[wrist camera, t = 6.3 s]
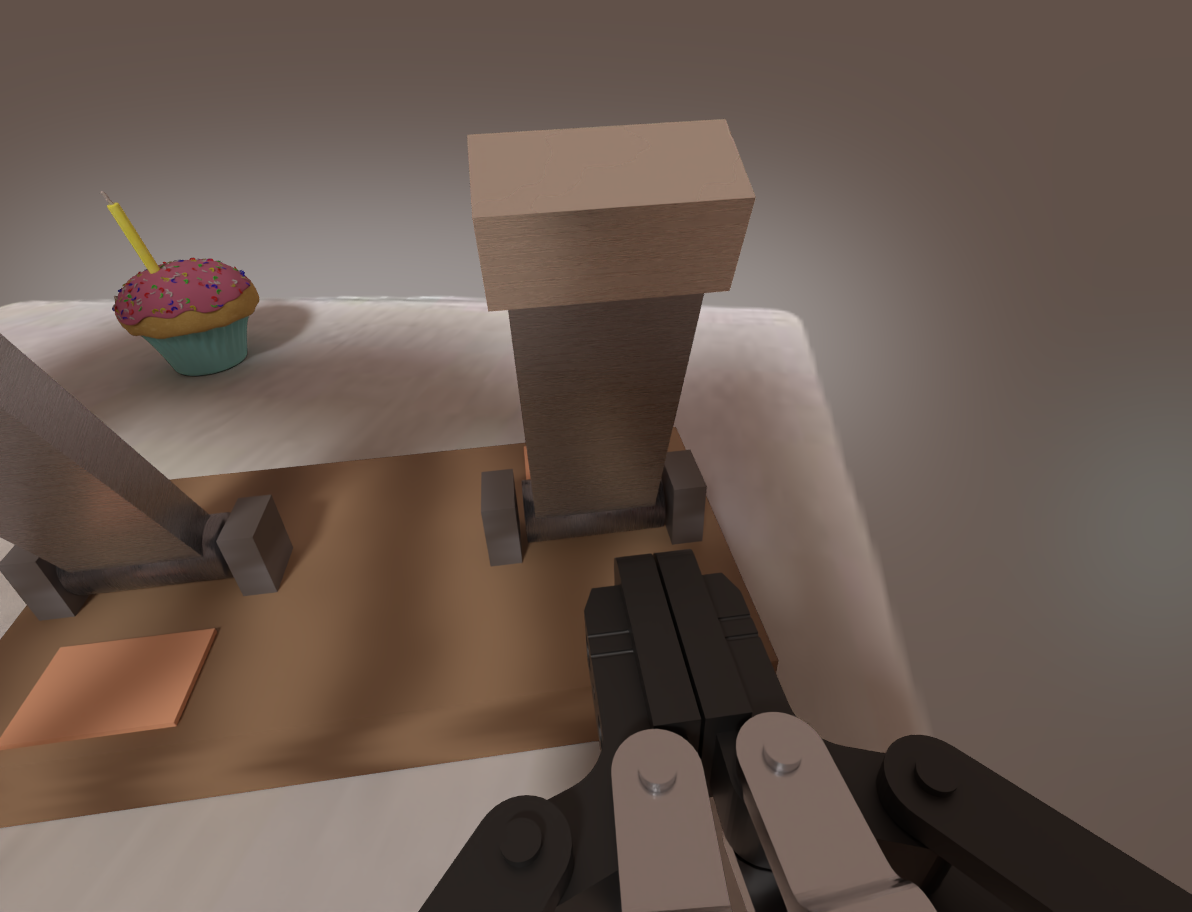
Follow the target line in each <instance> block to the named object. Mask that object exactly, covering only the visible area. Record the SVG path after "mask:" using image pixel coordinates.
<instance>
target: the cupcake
mask: <svg viewBox="0 0 1192 912" xmlns="http://www.w3.org/2000/svg"><path fill="white" fill-rule="evenodd" d="M100 193H101V194H102V195H103V196H104V197H105V199H106V201H107V202H109V204H110V205H108V206H107V207H108V209H109V210H110V212H111V213H112V215H113V216H114V218H115V220H116V221H117V223H118V224H119V226H120V227H121V229H122V231H123V232H124V234H125V235H126V237H127V238H128V240H129V241H130V243H131V244H132V246H133V248H134V249H135V251H136V252H137V254H138V255H139V257H140V258H141V260H142V261H143V263H144V265H145V266H146V268H147V270H145V271H143V272H141V273H140V272H139V273H138V274H137V275H135V276H133V277H132V278H131V279H130V280H128V282H127V283H126V284H124V285H123V286H124V287H123V288H121V289H120V290H118V292H119V294H118V296H114V299H115V304H114V305H113V308H112V310H113V311H115V315H116V317H117V319H118V321H119V322H120V324H121V325H122V327H123V328H125V329H126V330H127V331H128V332H129V333H130V334H131V335H133V336H142V337H143V338H144V339H146V340H147V341H148V342H149V343H150V344H151V345H152V346H153V347H154V348H155V349H156V350H157V351H158V352H159V353H160V354H161V355H162V356H163V357H164V358H165V359H166V360H167V361H168V363H169V364H170V365H171V366H172V367H173V368H174V369H175V371H177V372H178V373H180V374H183V375H188V376H200V375H208V374H213V373H217V372H221V371H224V370H226V369H229V368H231V367H233V366H235V365H237V364H239V363H240V362H241V361H243V360H244V359H245V357H246V355H247V321H248V317H249V315H251V314H252V313H253V312H254V311H255V307H256V305H257V304H258V303H259V295H258V293H257V291H256V288H255V287H254V285H253V283H252V282H251V280H249V279H248V278H247V277H246V276H245V275H244V273H245V272H244V271H242V270H240V271H238V270H237V269H236V267H234V268H235V269H234V268H232V267H231V266H228V265H226V264H223V263H222V262H220V261H213V259H207V260H206V259H196V260H195V258H190V260H175V261H173V262H168V263H166V262H163V263H164V264H162V265H157V263H156V262H155V260H154V259H153V257H152V255H151V254H150V253H149V251H148V249H147V248H146V246H145V244H144V243H143V241H142V240H141V238H140V236H139V235H138V233H137V232H136V230H135V229H134V227H133V225H132V224H131V222H130V221H129V219H128V217H127V216H126V214H125V213H124V211H123V209H122V208H121V207H120V205H119V204H118V203H113V202H112V201H111V200H110V199H109V197H108V196H107V195H106V193H104V192H103V191H101V192H100ZM193 259H194V260H193ZM241 271H242V272H241Z"/></svg>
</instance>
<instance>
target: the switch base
mask: <svg viewBox="0 0 1192 912" xmlns="http://www.w3.org/2000/svg"><path fill="white" fill-rule="evenodd" d="M528 479H531V478H530V470H529V463H528V455H527V448H526V443H518V444H509V445H499V446H490V447H480V448H470V449H461V450H451V451H441V452H432V453H422V454H413V455H403V456H393V457H384V458H374V459H364V460H355V461H345V462H336V463H326V464H316V465H307V466H297V467H287V468H278V469H268V470H259V471H249V472H239V473H230V474H220V475H210V476H201V477H191V478H181V479H172V480H170V481H171V482H172V483H173V484H175V485H176V486H177V487H178V488H179V489H180V490H181V491H183V492H184V493H185V494H186V495H187V496H188V497H190V498H191V499H192V500H193V501H194V502H195V503H196V504H198V505H199V506H200V507H201V508H202V509H203V510H205V511H206V512H207V513H208V514H216V513H225V512H230V515H229V517H228V519H227V521H226V523H225V525H224V527H223V529H222V531H221V533H220V535H219V537H218V539H217V541H216V542H217V544H218V546H219V548H220V550H221V552H222V554H223V556H224V558H225V560H226V562H227V564H228V566H229V568H230V570H231V572H232V574H233V576H234V577H233V578H226V579H217V580H209V581H200V582H192V583H183V584H175V585H166V586H158V587H149V588H141V589H132V590H124V591H115V592H107V593H98V594H90V595H81V596H78V595H73V594H71V593H69V592H68V591H67V590H66V589H65V588H64V587H63V586H62V584H61V582H60V580H59V578H58V575H57V571H56V566H55V565H53V564H51V563H50V562H48V561H46V560H44V559H42V558H40V557H38V556H36V555H34V554H32V553H30V552H28V551H26V550H24V549H22V548H20V547H18V546H16V545H15V546H14V547H13V548H12V549H11V550H10V551H9V553H8V554H7V555H6V556H5V557H4V558H3V559H2V561H1V562H0V571H1V572H2V574H3V575H4V576H5V578H6V579H7V580H8V581H9V583H10V584H11V585H12V587H13V588H14V589H15V590H16V592H17V593H18V594H19V595H20V597H21V598H22V599H23V601H24V602H25V603H26V604H27V606H26V607H25V608H24V610H23V611H22V612H21V613H20V615H19V616H18V617H17V619H16V620H15V621H14V623H13V624H12V625H11V626H10V628H9V629H8V630H7V632H6V633H5V634H4V636H3V637H2V638H1V639H0V828H3V827H10V826H16V825H23V824H30V823H37V822H44V821H51V820H58V819H64V818H71V817H78V816H85V815H92V814H99V813H106V812H112V811H119V810H126V809H133V808H140V807H147V806H154V805H160V804H167V803H174V802H181V801H188V800H195V799H202V798H208V797H215V796H222V795H229V794H236V793H243V792H250V791H256V790H263V789H270V788H277V787H284V786H291V785H298V784H304V783H311V782H318V781H325V780H332V779H339V778H345V777H352V776H359V775H366V774H373V773H380V772H387V771H393V770H400V769H407V768H414V767H421V766H428V765H435V764H441V763H448V762H455V761H462V760H469V759H476V758H483V757H489V756H496V755H503V754H510V753H517V752H524V751H531V750H537V749H544V748H551V747H558V746H565V745H572V744H579V743H585V742H592V741H599V737H598V730H597V723H596V716H595V709H594V703H593V696H592V688H591V682H590V675H589V669H588V662H587V648H586V633H585V618H584V609H585V606H586V603H587V600H588V598H589V595H590V592H591V589H592V588H598V587H606V586H614V558H616V557H624V556H633V555H641V554H649V553H651V554H652V555H653V554H654V553H659V552H667V551H676V550H684V549H691V550H692V551H693V553H694V555H695V557H696V560H697V563H698V566H699V568H700V571H701V574H702V575H705V574H713V573H721V572H722V573H723V574H724V575H725V576H726V577H727V578H728V579H729V580H730V581H731V582H732V583H733V584H734V585H735V586H736V587H737V588H738V589H739V590H740V591H741V593H742V595H743V598H744V600H745V602H746V605H747V607H748V609H749V612H750V616H751V618H752V619H753V621H754V624H755V626H756V628H757V631H758V635H759V637H760V638H761V640H762V642H763V645H764V647H765V649H766V652H767V654H768V657H769V659H770V661H771V664H772V666H773V668H774V671H775V673H776V670H777V665H778V658H777V656H776V654H775V652H774V649H773V647H772V645H771V642H770V640H769V638H768V636H767V633H766V631H765V629H764V627H763V624H762V622H761V620H760V617H759V615H758V613H757V611H756V608H755V606H754V604H753V602H752V599H751V597H750V595H749V592H748V590H747V588H746V586H745V583H744V581H743V579H742V576H741V574H740V572H739V570H738V567H737V565H736V563H735V561H734V558H733V556H732V554H731V551H730V549H729V547H728V545H727V542H726V540H725V538H724V536H723V533H722V531H721V529H720V526H719V524H718V522H717V520H716V517H715V515H714V513H713V511H712V508H711V506H710V504H709V501H708V499H707V497H706V487H707V486H706V484H705V482H704V479H703V477H702V475H701V473H700V471H699V468H698V466H697V464H696V462H695V459H694V457H693V455H692V453H691V451H690V450H686V449H685V447H684V445H683V442H682V440H681V438H680V435H679V433H678V431H677V429H676V427H673V429H672V433H671V438H670V442H669V446H668V451H667V455H666V459H665V463H664V468H663V472H662V476H661V479H662V484H663V489H664V497H665V524H664V526H663V527H659V528H650V529H642V530H633V531H625V532H616V533H608V534H599V535H591V536H582V537H574V538H565V539H557V540H548V541H540V542H531V543H528V540H527V533H526V525H525V516H524V506H523V496H522V480H528Z"/></svg>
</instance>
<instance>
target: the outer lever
mask: <svg viewBox="0 0 1192 912" xmlns="http://www.w3.org/2000/svg"><path fill="white" fill-rule="evenodd" d="M467 139H468V155H469V172H470V187H471V204H472V219H473V224H474V230H475V236H476V242H477V248H478V253H479V259H480V265H481V271H482V277H483V283H484V288H485V294H486V300H487V306H488V312H489V311H501V310H508V313H509V320H510V328H511V335H512V343H513V350H514V358H515V365H516V373H517V380H518V388H519V395H520V403H521V410H522V418H523V425H524V433H525V440H526V448H527V455H528V463H529V470H530V478H531V479H528V480H522V496H523V506H524V516H525V525H526V533H527V540H528V543H531V542H540V541H548V540H557V539H565V538H574V537H582V536H591V535H599V534H608V533H616V532H625V531H633V530H642V529H650V528H659V527H663V526H664V524H665V497H664V489H663V484H662V479H661V476H662V472H663V468H664V463H665V459H666V455H667V451H668V446H669V442H670V438H671V433H672V429H673V425H674V421H675V416H676V412H677V408H678V404H679V399H680V395H681V391H682V386H683V382H684V378H685V374H686V369H687V365H688V361H689V356H690V352H691V348H692V344H693V339H694V335H695V331H696V326H697V322H698V318H699V314H700V309H701V305H702V300H703V296H704V293H711V292H723V291H730V288H731V284H732V281H733V277H734V274H735V270H736V266H737V263H738V259H739V256H740V252H741V248H742V245H743V241H744V238H745V234H746V231H747V227H748V223H749V219H750V216H751V213H752V209H753V205H754V202H755V198H756V197H755V194H754V191H753V189H752V186H751V184H750V181H749V179H748V176H747V174H746V171H745V168H744V166H743V163H742V161H741V158H740V155H739V153H738V150H737V148H736V145H735V143H734V140H733V138H732V135H731V132H730V130H729V127H728V125H727V122H726V119H720V120H702V121H687V122H669V123H654V124H637V125H621V126H604V127H588V128H573V129H556V130H540V131H524V132H507V133H491V134H475V135H467Z"/></svg>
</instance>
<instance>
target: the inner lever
mask: <svg viewBox="0 0 1192 912" xmlns="http://www.w3.org/2000/svg"><path fill="white" fill-rule="evenodd" d="M229 515H230V512H225V513H216V514H208V513H207V512H206V511H205V510H203V509H202V508H201V507H200V506H199V505H198V504H196V503H195V502H194V501H193V500H192V499H191V498H190V497H188V496H187V495H186V494H185V493H184V492H183V491H181V490H180V489H179V488H178V487H177V486H176V485H175V484H173V483H172V482H171V481H170V480H169V479H168V478H166V477H165V476H164V475H163V474H162V473H161V472H160V471H158V470H157V469H156V468H155V467H154V466H153V465H151V464H150V463H149V462H148V461H147V460H146V459H145V458H143V457H142V456H141V455H140V454H139V453H138V452H136V451H135V450H134V449H133V448H132V447H131V446H130V445H128V444H127V443H126V442H125V441H124V440H123V439H121V438H120V437H119V436H118V435H117V434H116V433H115V432H113V431H112V430H111V429H110V428H109V427H108V426H106V425H105V424H104V423H103V422H102V421H101V420H100V419H98V418H97V417H96V416H95V415H94V414H93V413H92V412H90V411H89V410H88V409H87V408H86V407H85V406H83V405H82V404H81V403H80V402H79V401H78V400H77V399H75V398H74V397H73V396H72V395H71V394H70V393H68V392H67V391H66V390H65V389H64V388H63V387H62V386H60V385H59V384H58V383H57V382H56V381H55V380H53V379H52V378H51V377H50V376H49V375H48V374H47V373H45V372H44V371H43V370H42V369H41V368H40V367H38V366H37V365H36V364H35V363H34V362H33V361H32V360H30V359H29V358H28V357H27V356H26V355H25V354H23V353H22V352H21V351H20V350H19V349H18V348H17V347H15V346H14V345H13V344H12V343H11V342H10V341H8V340H7V339H6V338H5V337H4V336H3V335H2V334H0V537H1V538H3V539H5V540H7V541H9V542H11V543H13V544H15V545H16V546H18V547H20V548H22V549H24V550H26V551H28V552H30V553H32V554H34V555H36V556H38V557H40V558H42V559H44V560H46V561H48V562H50V563H51V564H53V565H55V566H56V571H57V575H58V578H59V580H60V582H61V584H62V586H63V587H64V588H65V589H66V590H67V591H68V592H69V593H71V594H73V595H78V596H81V595H90V594H98V593H107V592H115V591H124V590H132V589H141V588H149V587H158V586H166V585H175V584H183V583H192V582H200V581H209V580H217V579H226V578H233V577H234V576H233V574H232V572H231V570H230V568H229V566H228V564H227V562H226V560H225V558H224V556H223V554H222V552H221V550H220V548H219V546H218V544H217V542H216V541H217V539H218V537H219V535H220V533H221V531H222V529H223V527H224V525H225V523H226V521H227V519H228V517H229Z"/></svg>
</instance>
